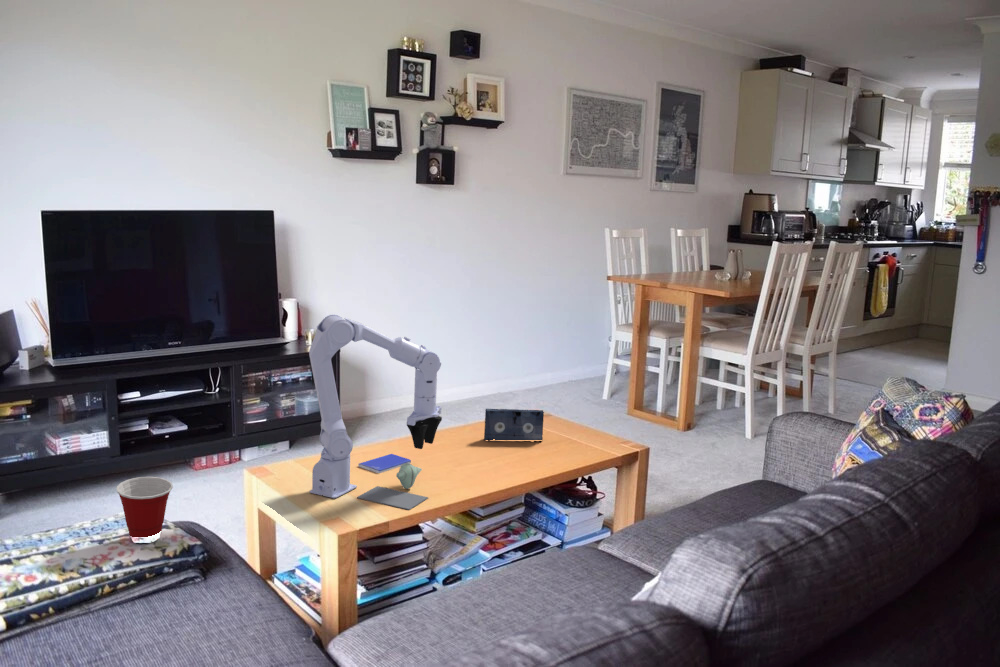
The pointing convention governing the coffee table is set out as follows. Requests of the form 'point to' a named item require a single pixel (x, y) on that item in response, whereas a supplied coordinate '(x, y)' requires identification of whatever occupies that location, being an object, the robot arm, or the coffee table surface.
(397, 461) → the hard drive
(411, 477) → the grey-green rounded piece
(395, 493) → the mat
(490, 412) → the vhs cassette tape
